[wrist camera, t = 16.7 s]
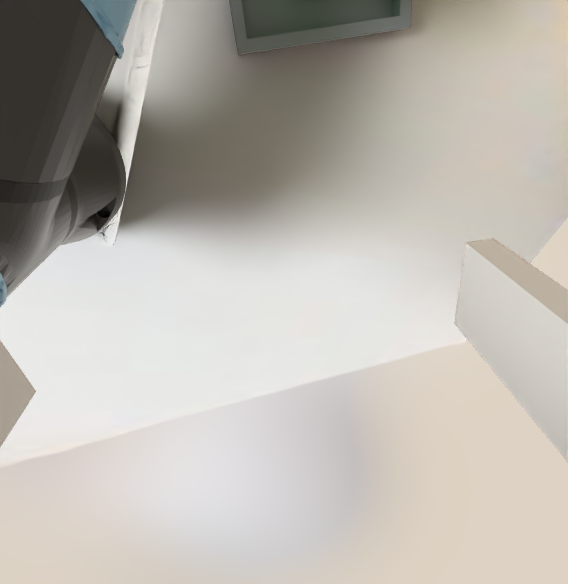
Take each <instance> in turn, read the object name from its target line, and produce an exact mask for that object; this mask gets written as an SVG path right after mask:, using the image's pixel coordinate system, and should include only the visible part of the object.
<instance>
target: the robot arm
mask: <svg viewBox="0 0 568 584" xmlns="http://www.w3.org/2000/svg"><path fill="white" fill-rule="evenodd" d="M136 1H137V0H0V307H1V306H2V305H3V304H4V302H5V301H6V298H7V297H8V296H9V295H10V294H11V293H12V292H13V291H14V290H15V289H16V288H17V287H18V286H19V285H20V284H21V283H22V282H23V281H24V280H25V279H26V278H27V277H28V276H29V275H30V274H31V273H32V272H33V271H34V270H35V269H36V268H37V267H38V266H39V265H40V264H41V263H42V262H43V261H44V260H45V259H46V258H47V257H48V256H49V255H50V254H51V253H52V252H53V251H54V250H55V249H56V248H57V247H58V246H59V245H63V244H68V243H72V242H77V241H80V240H83V239H86V238H88V237H90V236H92V235H94V234H96V233H97V232H99V231H100V230H101V229H103V228H104V227H105V226H106V225H107V224H108V223H109V222H110V220H111V219H112V218H113V217H114V216H115V215H116V213H117V212H118V210H119V208H120V206H121V204H122V202H123V199H124V195H125V189H126V172H125V166H124V162H123V159H122V155H121V153H120V150H119V148H118V146H117V144H116V142H115V140H114V138H113V137H112V135H111V134H110V132H109V131H108V129H107V128H106V127H105V125H104V124H103V123H102V122H101V121H100V119H99V118H98V117H97V116H96V115H95V113H96V110H97V107H98V105H99V102H100V100H101V97H102V95H103V92H104V90H105V87H106V85H107V82H108V79H109V77H110V74H111V72H112V69H113V67H114V64H115V62H116V59H117V58H119V59H121V57H122V55H123V52H124V48H123V45H122V43H123V40H124V37H125V34H126V31H127V28H128V25H129V22H130V19H131V16H132V13H133V10H134V7H135V4H136ZM454 323H455V325H456V326H457V327H458V328H459V330H460V331H461V332H462V333H463V334H464V336H465V337H466V338H467V339H468V341H469V342H470V343H471V344H472V346H473V347H474V348H475V349H476V350H477V351H478V353H479V354H480V355H481V357H482V358H483V359H484V360H485V361H486V362H487V364H488V365H489V366H490V367H491V369H492V370H493V371H494V372H495V374H496V375H497V376H498V377H499V379H500V380H501V381H502V382H503V384H504V385H505V386H506V387H507V388H508V390H509V391H510V392H511V393H512V395H513V396H514V397H515V398H516V399H517V401H518V402H519V403H520V404H521V406H522V407H523V408H524V409H525V410H526V412H527V413H528V414H529V415H530V417H531V418H532V419H533V420H534V421H535V423H536V424H537V425H538V426H539V428H540V429H541V430H542V431H543V432H544V434H545V435H546V436H547V437H548V439H549V440H550V441H551V442H552V444H553V445H554V446H555V447H556V448H557V450H558V451H559V452H560V453H561V455H562V456H563V457H564V458H565V459H566V461H567V462H568V290H567V289H566V288H564V287H562V286H561V285H560V284H559V283H557V282H555V281H554V280H552V279H551V278H550V277H548V276H547V275H545V274H544V273H543V272H541V271H539V270H538V269H537V268H535V267H534V266H533V265H531V264H530V263H528V262H527V261H525V260H524V259H522V258H521V257H520V256H518V255H517V254H515V253H514V252H512V251H511V250H510V249H508V248H507V247H505V246H504V245H502V244H501V243H499V242H498V241H497V240H495V239H494V238H492V239H486V240H480V241H473V242H467V243H466V244H465V251H464V258H463V265H462V272H461V279H460V286H459V293H458V300H457V307H456V314H455V321H454ZM35 392H36V391H35V389H34V388H33V386H32V385H31V383H30V382H29V381H28V379H27V378H26V376H25V375H24V373H23V372H22V371H21V369H20V368H19V366H18V365H17V363H16V362H15V361H14V359H13V358H12V356H11V355H10V353H9V352H8V351H7V349H6V348H5V346H4V345H3V343H2V342H1V341H0V447H1V445H2V444H3V442H4V441H5V439H6V438H7V436H8V434H9V433H10V431H11V430H12V428H13V427H14V425H15V423H16V422H17V420H18V419H19V417H20V416H21V414H22V413H23V411H24V409H25V408H26V406H27V405H28V403H29V402H30V400H31V398H32V397H33V395H34V394H35Z"/></svg>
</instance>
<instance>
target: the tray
mask: <svg viewBox="0 0 568 584" xmlns="http://www.w3.org/2000/svg"><path fill="white" fill-rule="evenodd" d="M229 2H230V8H231V14H232V20H233V26H234V32H235V38H236V44H237V50H238V55H242V54H248V53H255V52H261V51H267V50H274V49H280V48H287V47H293V46H300V45H306V44H313V43H319V42H325V41H332V40H338V39H345V38H351V37H358V36H364V35H371V34H377V33H383V32H390V31H396V30H401V29H406V28H410V25H411V2H412V0H229Z"/></svg>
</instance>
